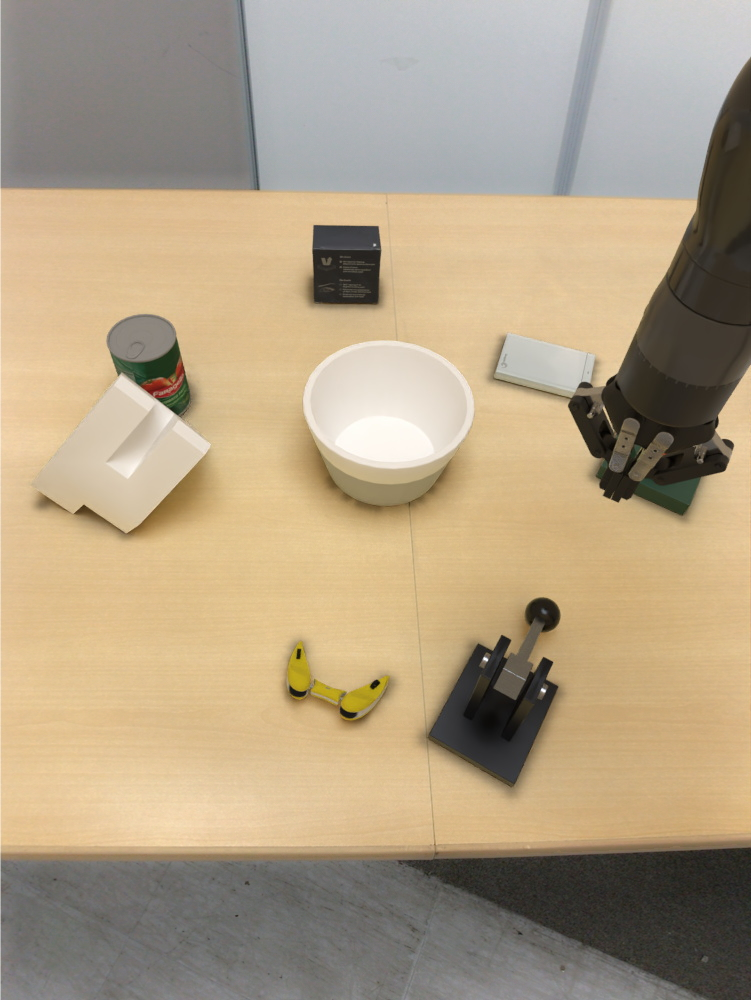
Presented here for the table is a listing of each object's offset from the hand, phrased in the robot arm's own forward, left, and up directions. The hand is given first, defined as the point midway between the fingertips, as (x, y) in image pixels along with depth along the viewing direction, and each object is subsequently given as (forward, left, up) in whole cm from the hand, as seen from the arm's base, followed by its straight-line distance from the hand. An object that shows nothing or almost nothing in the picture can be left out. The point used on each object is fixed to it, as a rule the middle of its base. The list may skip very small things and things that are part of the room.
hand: (613, 492), depth 63 cm
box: (+46, -32, -21) cm, 59 cm away
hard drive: (+15, -33, -21) cm, 41 cm away
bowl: (+26, -8, -21) cm, 34 cm away
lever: (+1, +10, -16) cm, 19 cm away
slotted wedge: (+48, +10, -21) cm, 53 cm away
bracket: (+1, +14, -21) cm, 26 cm away
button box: (-3, -24, -21) cm, 32 cm away
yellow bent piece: (+16, +20, -21) cm, 33 cm away
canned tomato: (+55, -1, -21) cm, 59 cm away
